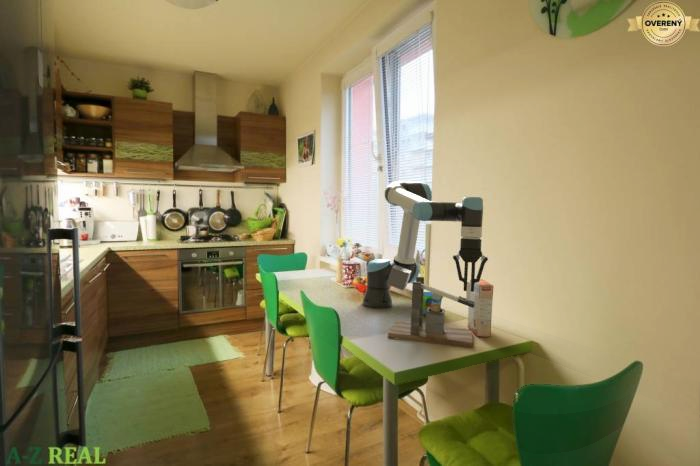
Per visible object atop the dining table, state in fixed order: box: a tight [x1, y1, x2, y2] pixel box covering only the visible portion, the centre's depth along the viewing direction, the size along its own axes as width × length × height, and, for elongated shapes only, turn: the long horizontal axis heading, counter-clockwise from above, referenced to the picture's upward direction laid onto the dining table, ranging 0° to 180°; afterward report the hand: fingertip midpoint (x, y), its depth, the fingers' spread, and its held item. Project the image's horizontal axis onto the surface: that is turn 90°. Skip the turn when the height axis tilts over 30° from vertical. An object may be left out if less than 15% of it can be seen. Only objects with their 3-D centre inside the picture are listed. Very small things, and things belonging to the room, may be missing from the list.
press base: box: [387, 276, 473, 349], centre depth 152 cm, size 16×31×22 cm, turn 74°
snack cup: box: [423, 291, 444, 316], centre depth 184 cm, size 16×10×10 cm
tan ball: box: [430, 303, 442, 312], centre depth 152 cm, size 4×4×4 cm
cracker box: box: [467, 278, 494, 338], centre depth 159 cm, size 14×6×21 cm, turn 177°
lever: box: [387, 265, 475, 308], centre depth 152 cm, size 9×34×7 cm, turn 74°
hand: (468, 299), depth 148 cm, fingers closed
